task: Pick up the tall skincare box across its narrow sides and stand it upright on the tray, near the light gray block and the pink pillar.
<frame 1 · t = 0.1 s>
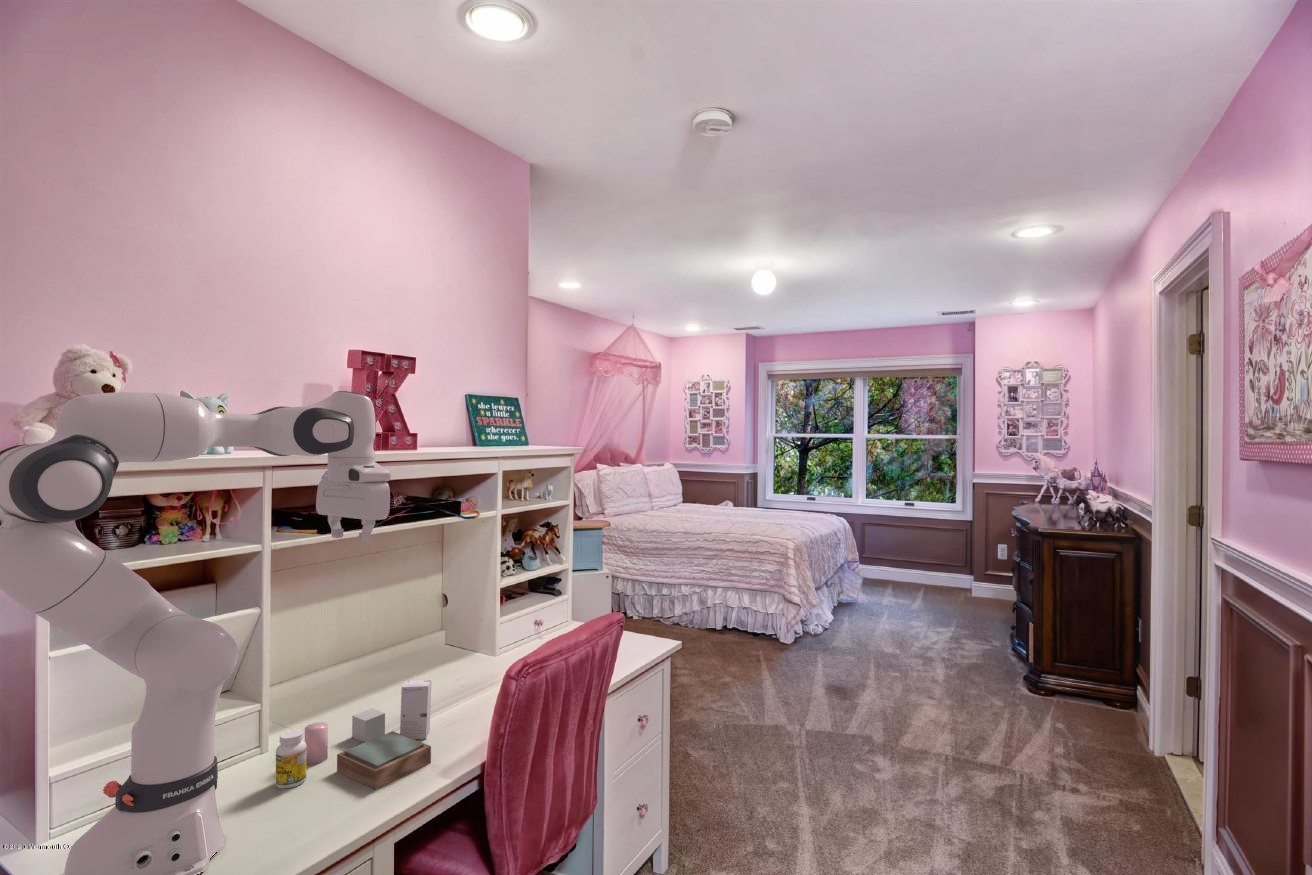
hand: (350, 539, 134), 48 cm above the table, tool pointing down, fingers open, 8 cm apart
pink pillar: (316, 759, 140), on the table
tray: (384, 766, 137), on the table
supplement bottle: (290, 783, 131), on the table
skincare box: (415, 736, 152), on the table
light gray block: (368, 735, 151), on the table
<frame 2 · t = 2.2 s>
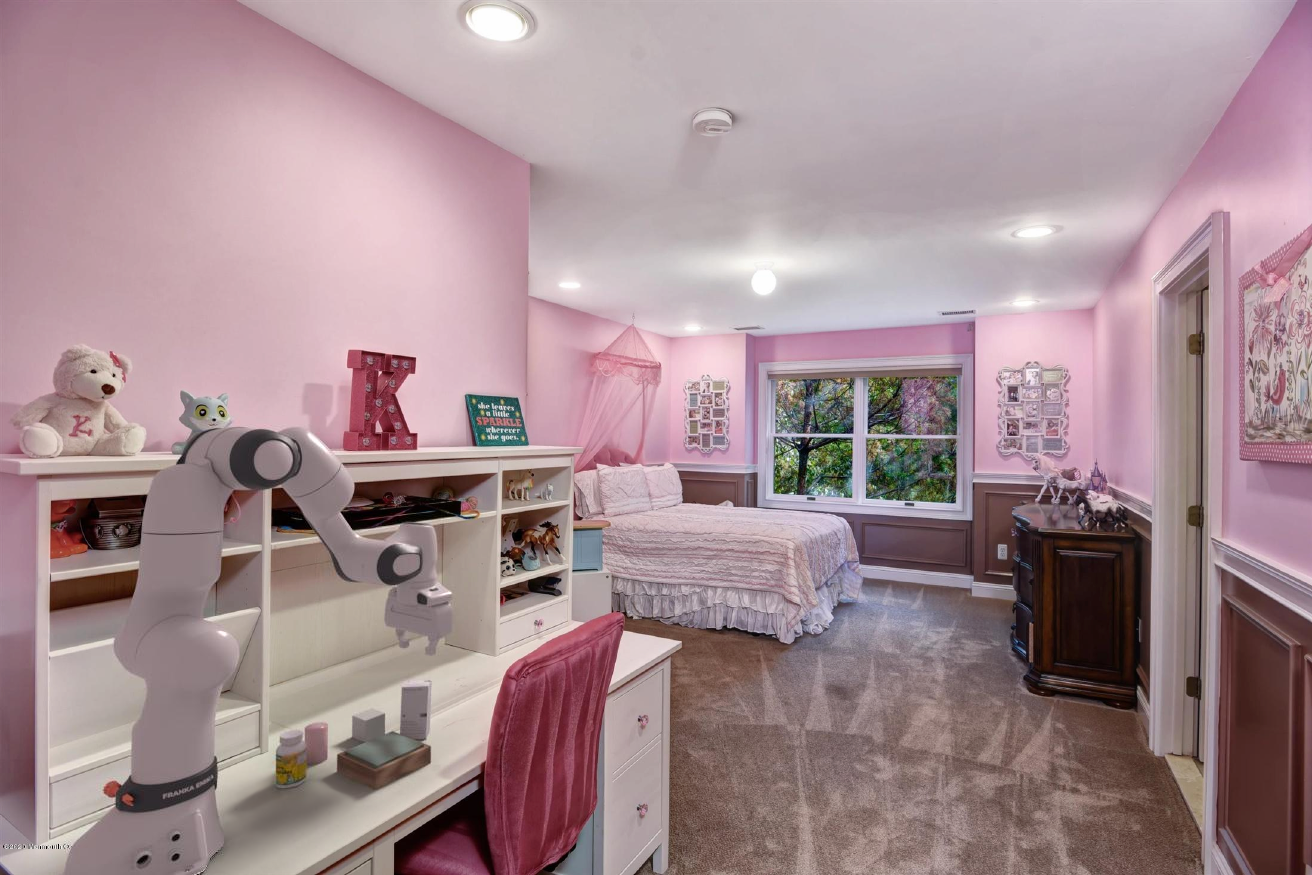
hand: (417, 650, 152), 19 cm above the table, tool pointing down, fingers open, 8 cm apart
nothing on the table moved.
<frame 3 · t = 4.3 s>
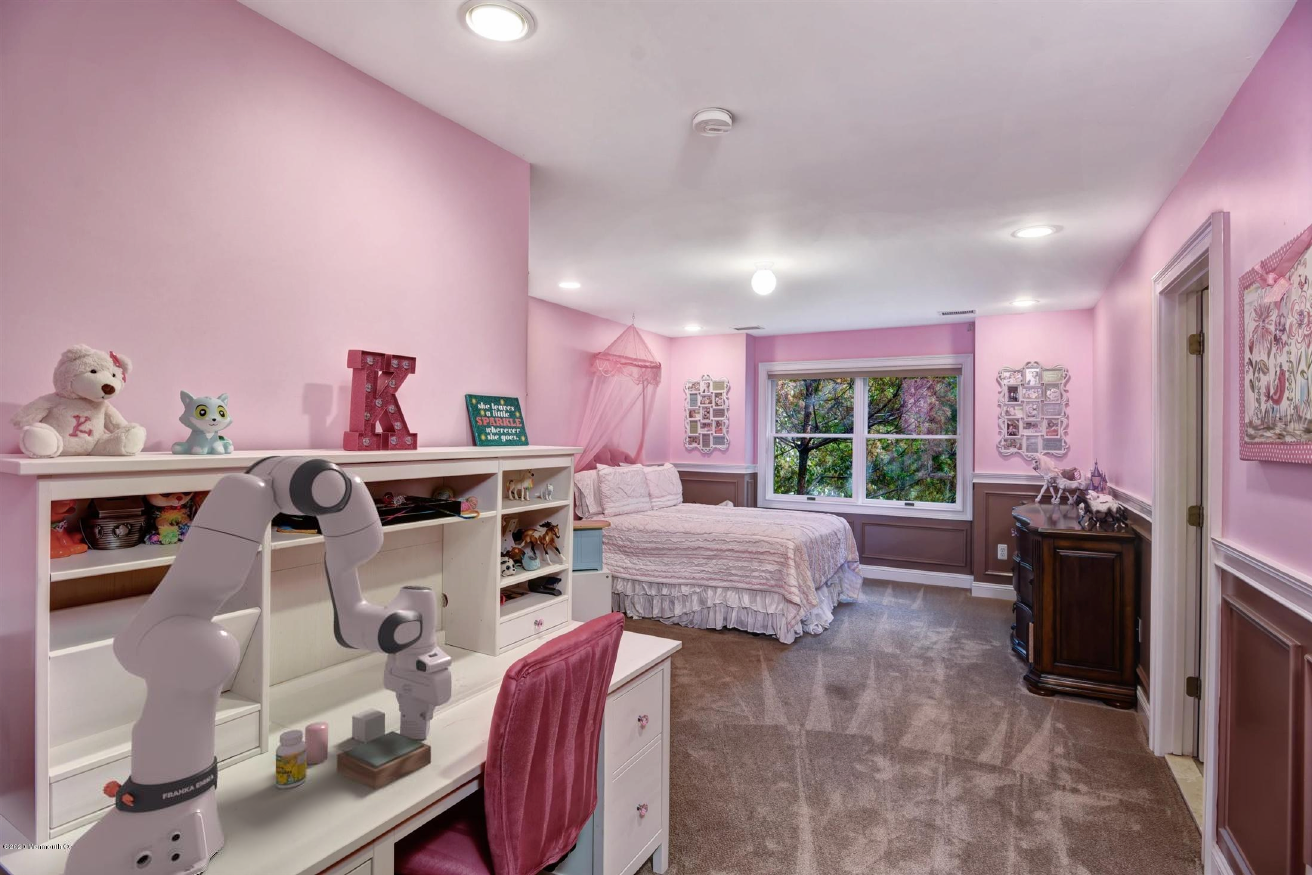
hand: (415, 715, 152), 5 cm above the table, tool pointing down, fingers closed on skincare box, 7 cm apart
skincare box: (415, 736, 152), on the table, touching gripper
everything else where it was.
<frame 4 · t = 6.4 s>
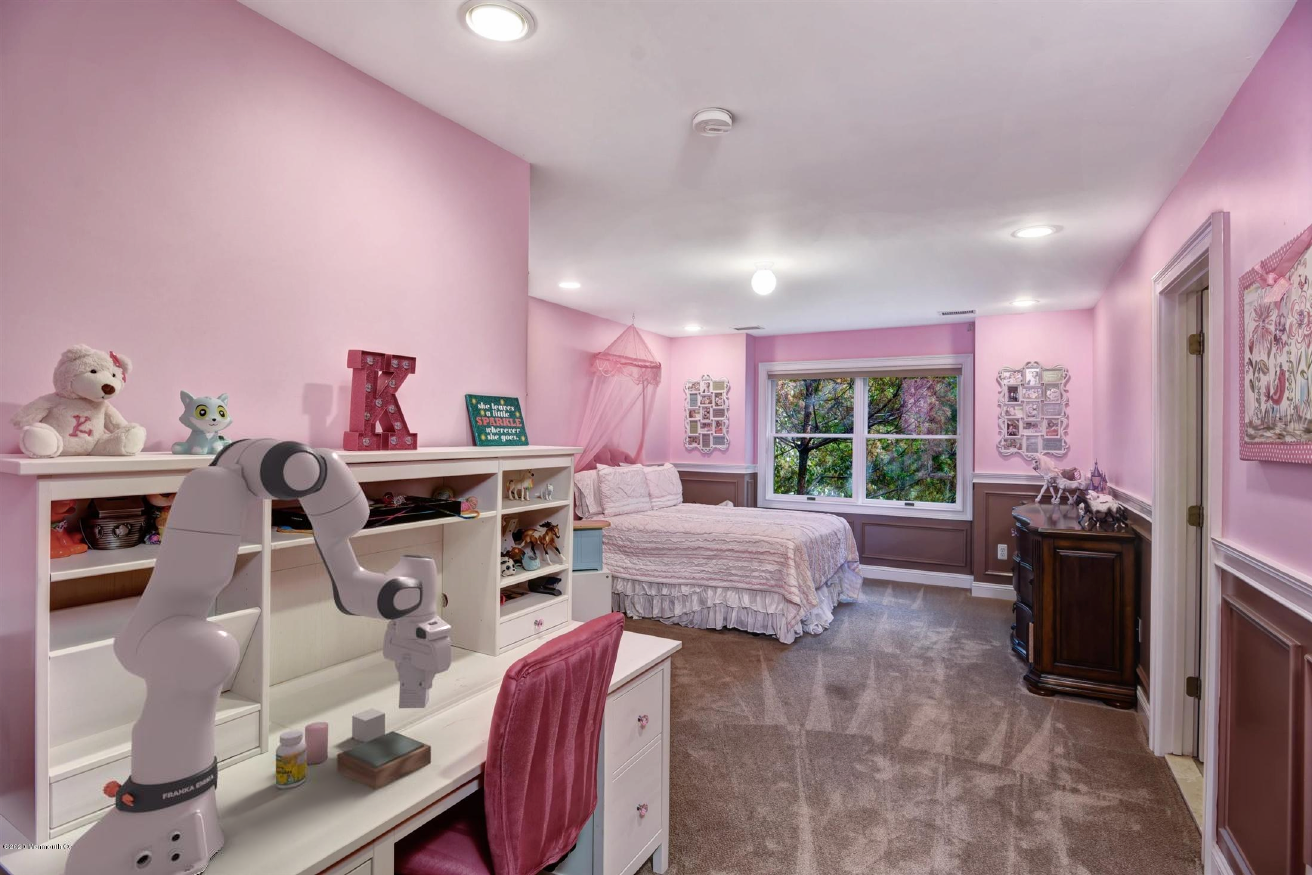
hand: (415, 684, 151), 12 cm above the table, tool pointing down, fingers closed on skincare box, 7 cm apart
skincare box: (414, 705, 151), point 7 cm above the table, touching gripper
everything else where it was.
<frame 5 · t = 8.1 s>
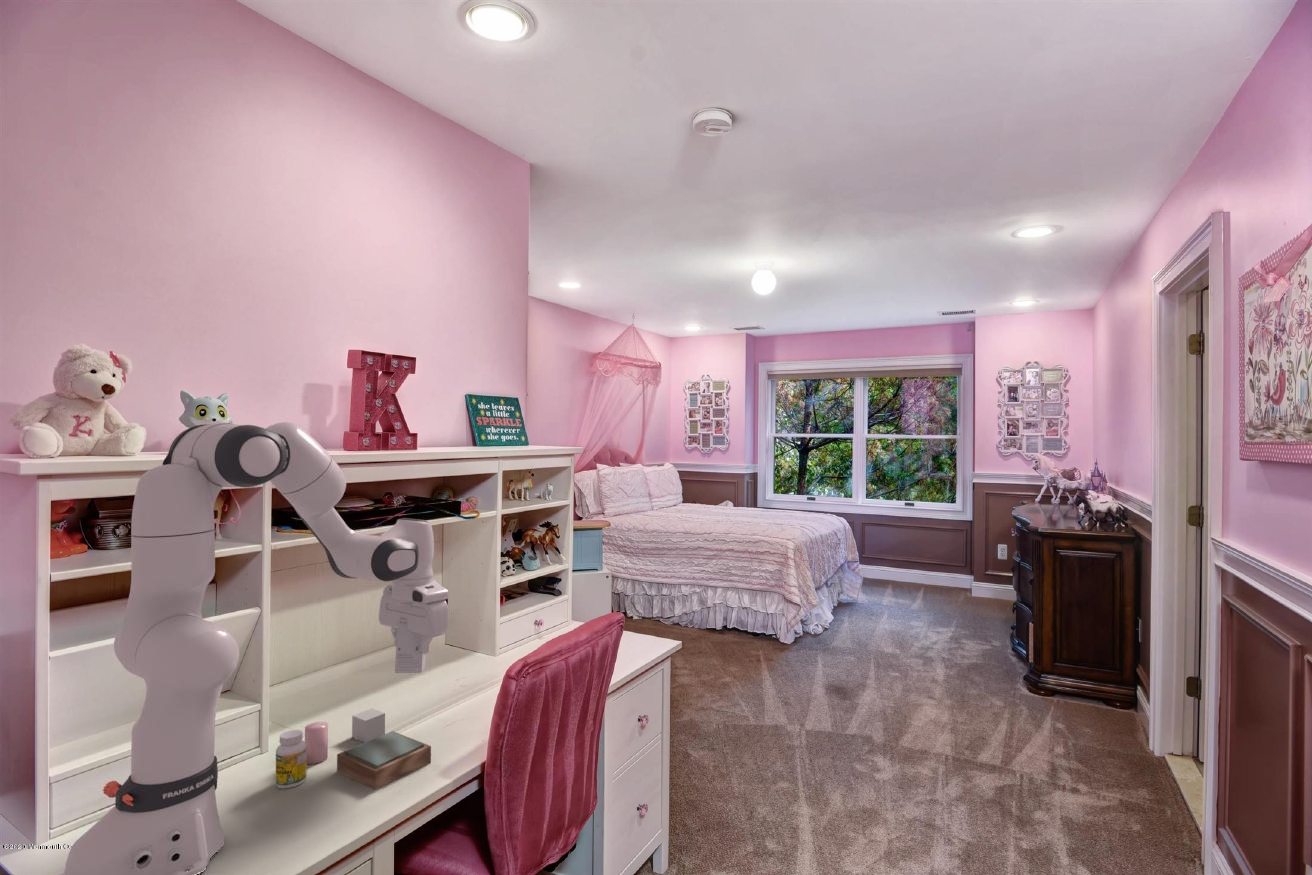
hand: (411, 649, 150), 20 cm above the table, tool pointing down, fingers closed on skincare box, 7 cm apart
skincare box: (411, 670, 150), point 16 cm above the table, touching gripper
everything else where it was.
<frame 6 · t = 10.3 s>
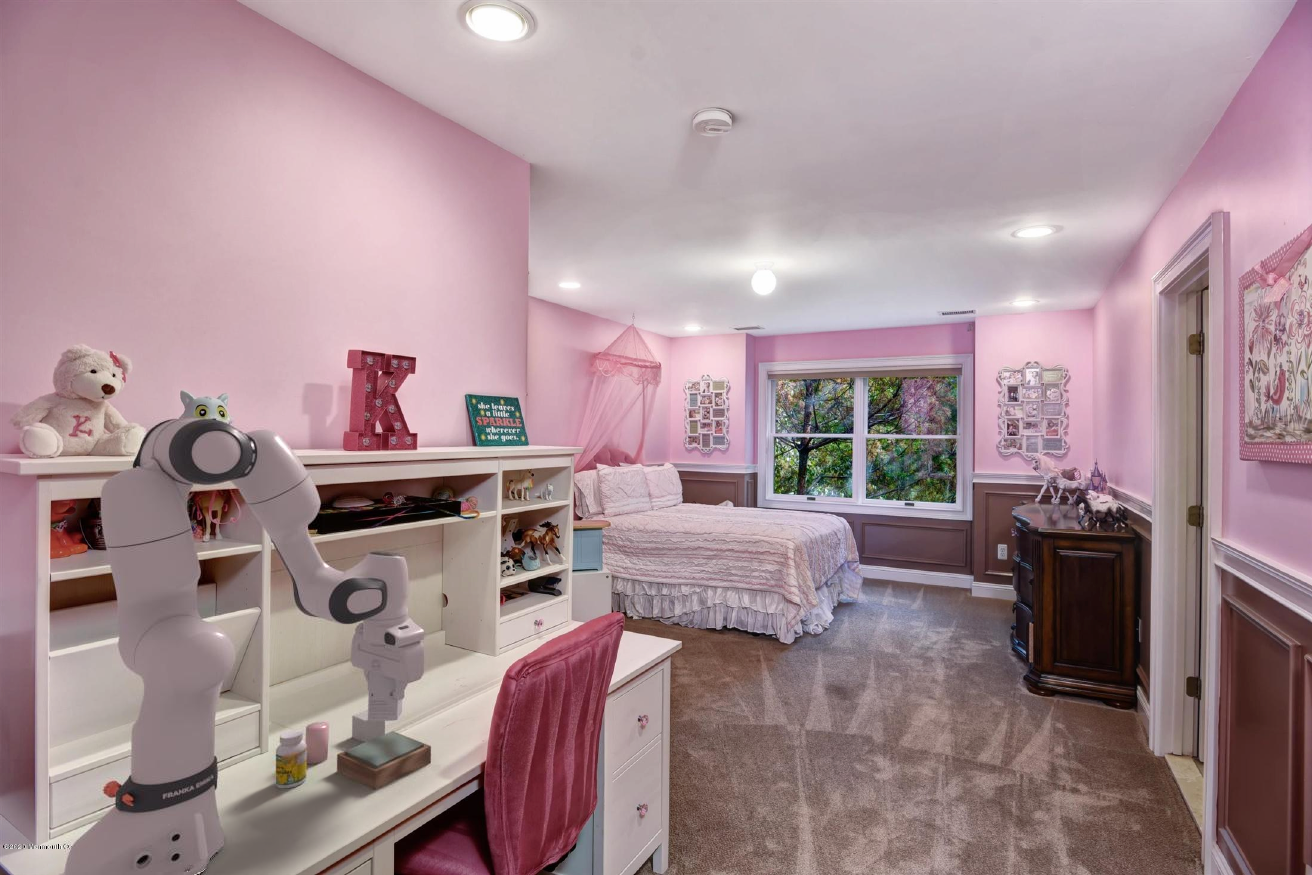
hand: (385, 694, 137), 15 cm above the table, tool pointing down, fingers closed on skincare box, 7 cm apart
skincare box: (385, 717, 137), point 10 cm above the table, touching gripper
everything else where it was.
when the fingers open (10 cm above the table, at t = 12.2 s): skincare box stays where it is, resting on tray.
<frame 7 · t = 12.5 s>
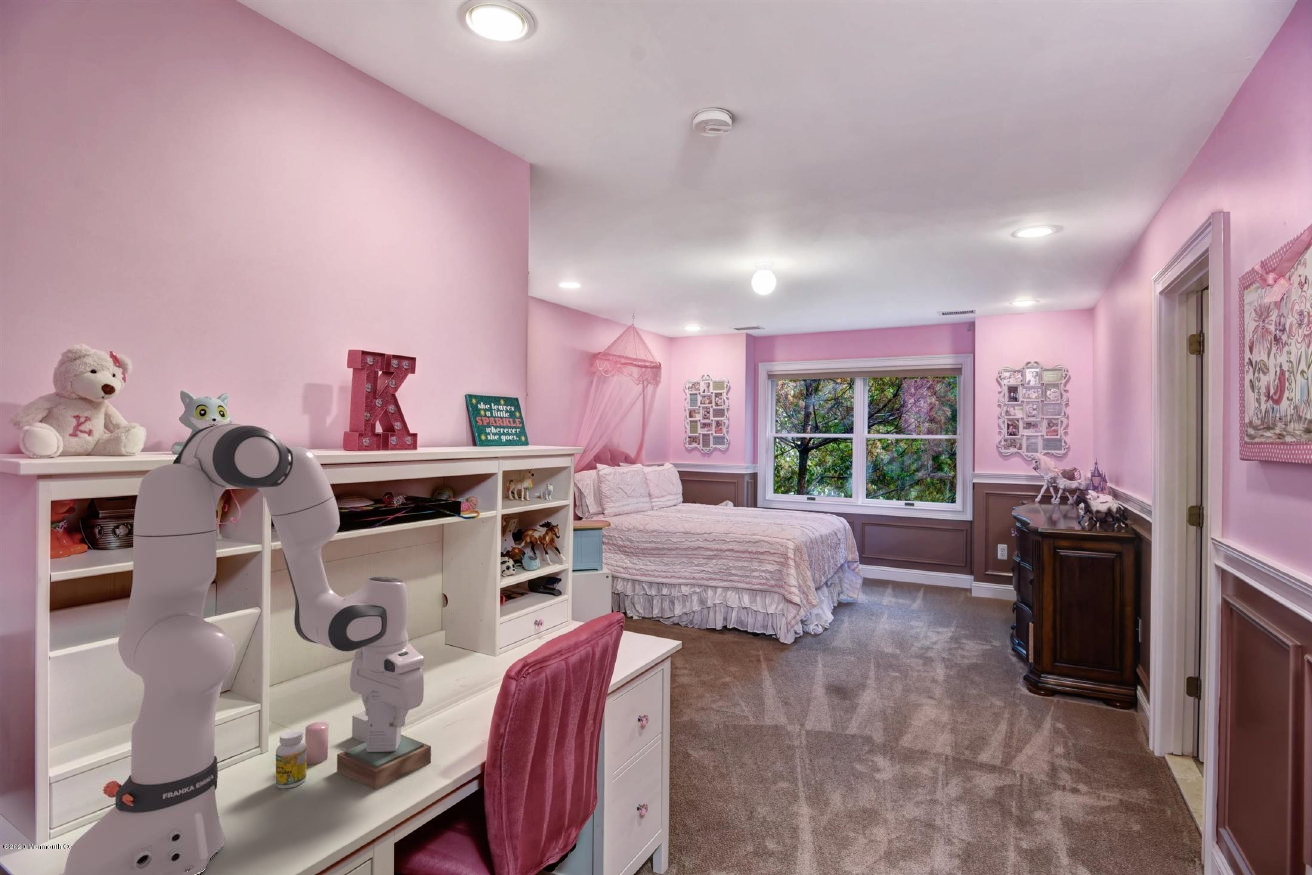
hand: (384, 720, 137), 10 cm above the table, tool pointing down, fingers open, 8 cm apart
skincare box: (384, 748, 137), point 4 cm above the table, touching tray
everything else where it was.
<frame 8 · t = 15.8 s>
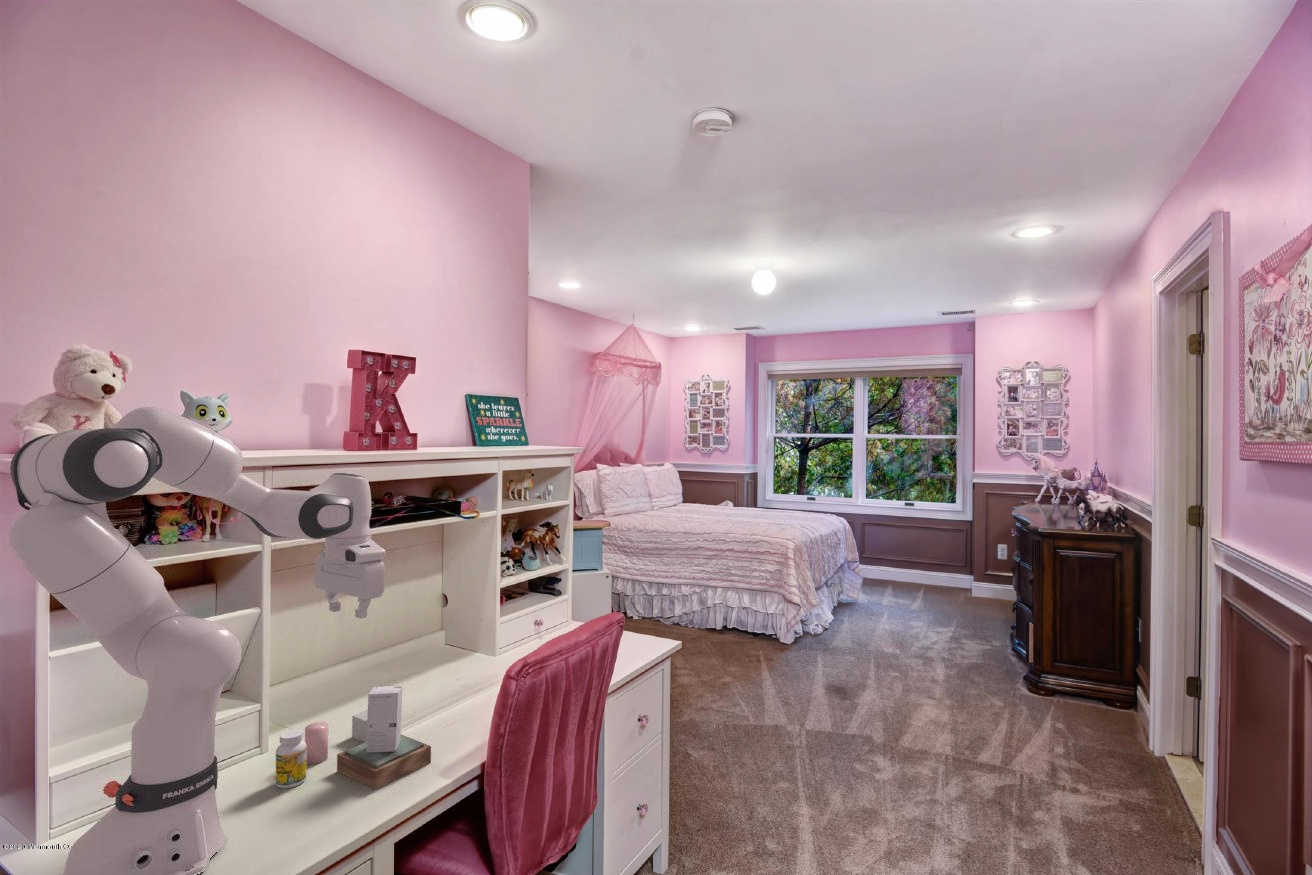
hand: (347, 614, 140), 31 cm above the table, tool pointing down, fingers open, 8 cm apart
nothing on the table moved.
at the end: skincare box inside the target area on the tray (0.1 cm from its centre), point 3.8 cm above the tray's base; skincare box tilted 0°; the gripper is holding nothing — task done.
